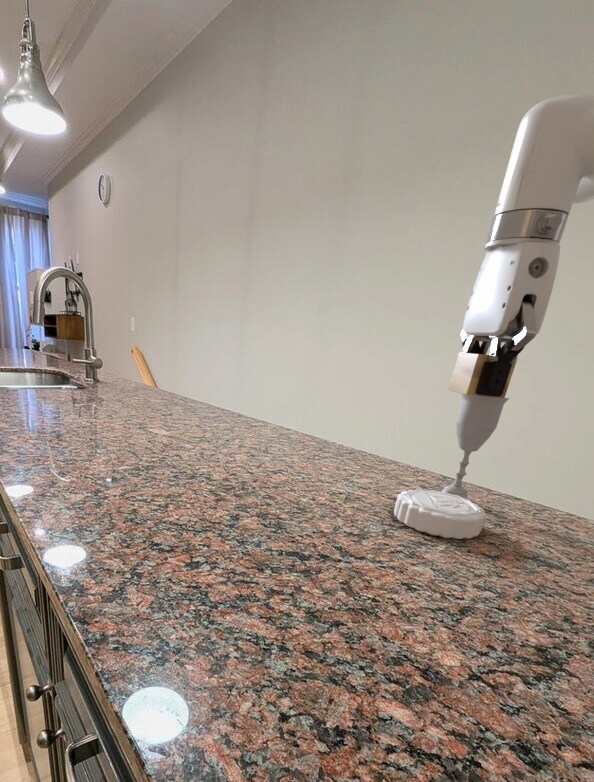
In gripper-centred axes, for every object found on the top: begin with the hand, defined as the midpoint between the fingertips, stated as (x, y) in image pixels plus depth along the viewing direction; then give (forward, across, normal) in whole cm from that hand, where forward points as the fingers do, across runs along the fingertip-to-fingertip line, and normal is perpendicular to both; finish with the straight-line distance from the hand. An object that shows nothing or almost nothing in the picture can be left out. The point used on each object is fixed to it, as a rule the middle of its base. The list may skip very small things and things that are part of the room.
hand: (476, 390), depth 60 cm
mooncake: (+20, 0, 0) cm, 20 cm away
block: (0, 0, 0) cm, 0 cm away
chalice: (+20, +12, -8) cm, 24 cm away
